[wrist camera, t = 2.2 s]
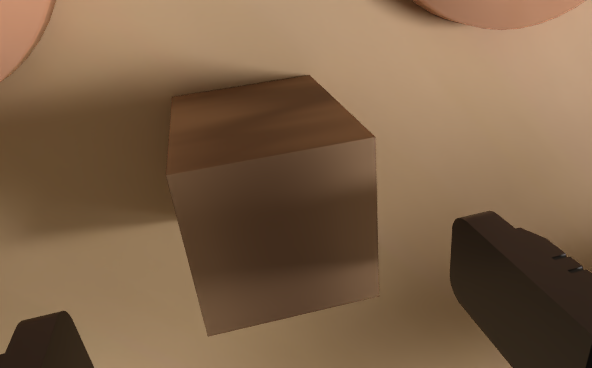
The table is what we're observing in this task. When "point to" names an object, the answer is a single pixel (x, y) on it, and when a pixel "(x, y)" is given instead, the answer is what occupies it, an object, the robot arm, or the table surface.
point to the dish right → (499, 11)
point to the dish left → (21, 30)
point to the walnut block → (273, 201)
